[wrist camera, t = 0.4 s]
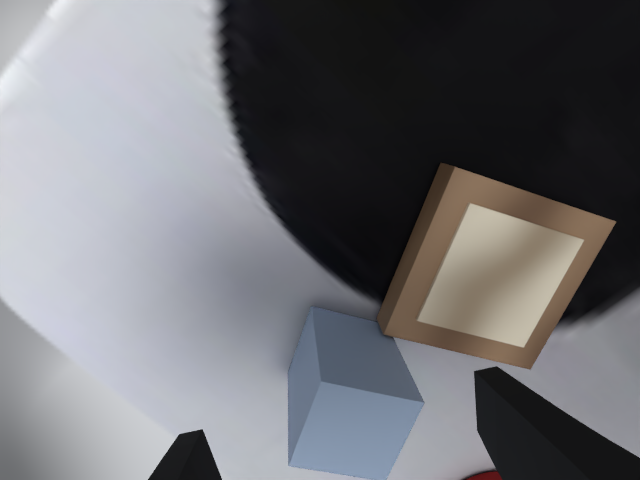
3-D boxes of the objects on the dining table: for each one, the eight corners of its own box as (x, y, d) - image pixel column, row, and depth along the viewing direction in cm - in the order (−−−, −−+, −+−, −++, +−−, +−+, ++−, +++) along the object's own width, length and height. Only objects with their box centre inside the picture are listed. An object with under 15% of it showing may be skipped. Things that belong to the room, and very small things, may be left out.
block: (386, 324, 21) (424, 402, 15) (359, 387, 22) (385, 481, 16) (311, 305, 20) (321, 381, 14) (287, 372, 21) (288, 466, 16)
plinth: (590, 213, 19) (619, 222, 18) (513, 352, 22) (532, 371, 20) (440, 162, 18) (457, 167, 16) (376, 318, 20) (384, 336, 19)
